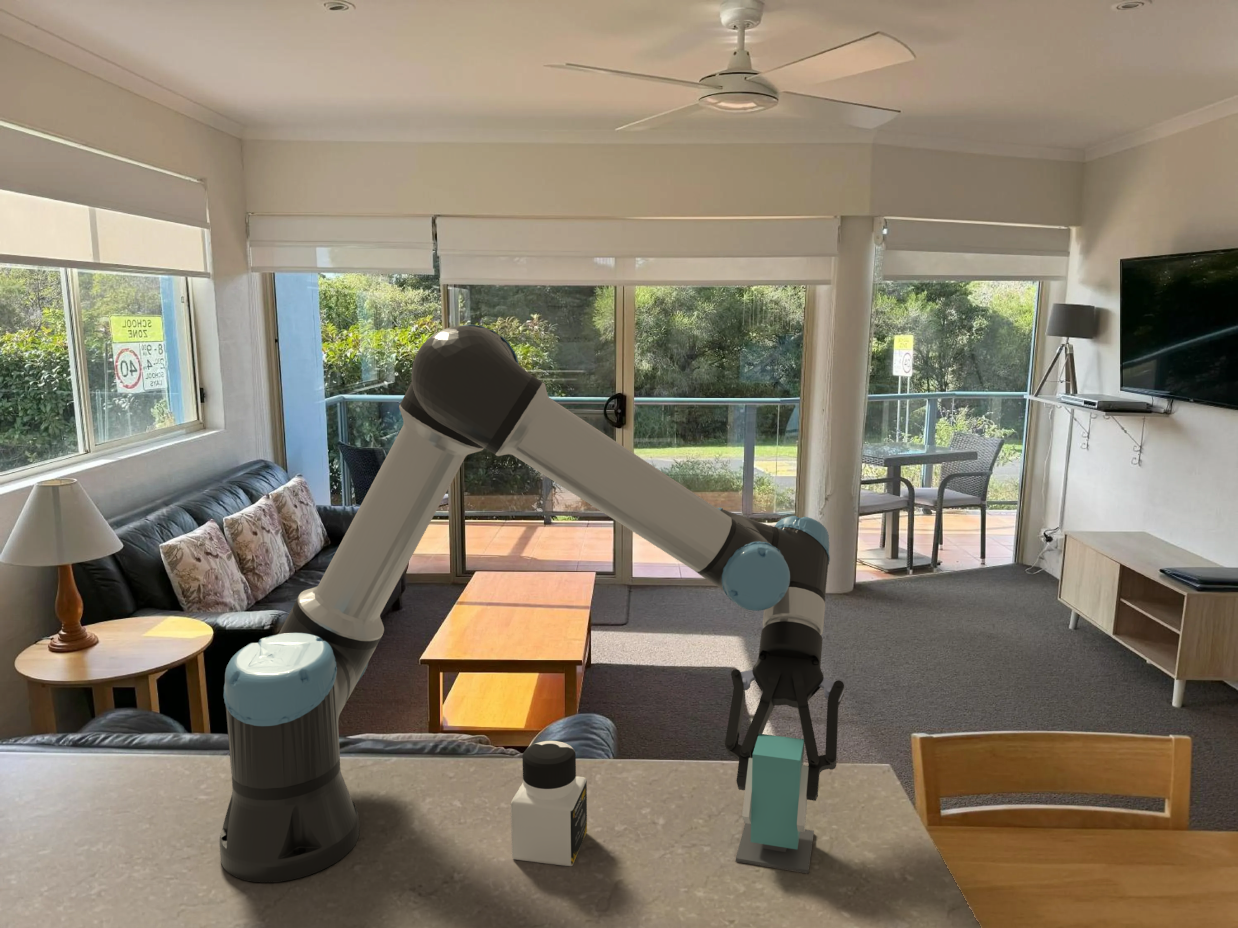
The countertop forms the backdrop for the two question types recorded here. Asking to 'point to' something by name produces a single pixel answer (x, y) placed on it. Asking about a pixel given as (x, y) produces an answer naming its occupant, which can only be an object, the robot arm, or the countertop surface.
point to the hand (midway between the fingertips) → (773, 823)
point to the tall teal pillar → (776, 790)
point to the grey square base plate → (776, 852)
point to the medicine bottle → (549, 806)
